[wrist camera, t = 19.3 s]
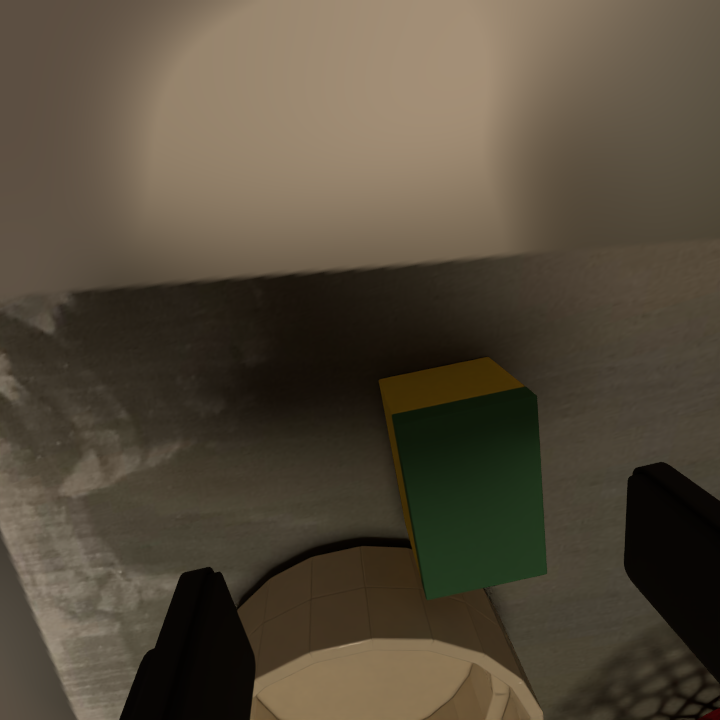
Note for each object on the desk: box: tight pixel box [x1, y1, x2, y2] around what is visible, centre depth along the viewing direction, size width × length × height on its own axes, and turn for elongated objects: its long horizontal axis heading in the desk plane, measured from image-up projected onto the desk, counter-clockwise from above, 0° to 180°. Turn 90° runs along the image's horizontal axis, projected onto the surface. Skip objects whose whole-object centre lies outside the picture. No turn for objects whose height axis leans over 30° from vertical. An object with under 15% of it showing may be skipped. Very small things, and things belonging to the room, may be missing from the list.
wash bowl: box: [237, 546, 543, 720], centre depth 21 cm, size 15×15×6 cm
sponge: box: [379, 357, 547, 600], centre depth 18 cm, size 8×5×4 cm, turn 11°
